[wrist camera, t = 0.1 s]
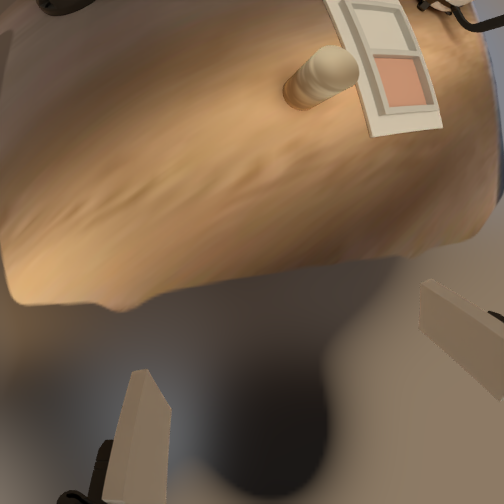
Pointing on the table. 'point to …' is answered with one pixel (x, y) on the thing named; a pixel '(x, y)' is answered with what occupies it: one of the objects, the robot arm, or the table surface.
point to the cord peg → (321, 78)
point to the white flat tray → (386, 66)
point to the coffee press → (453, 2)
